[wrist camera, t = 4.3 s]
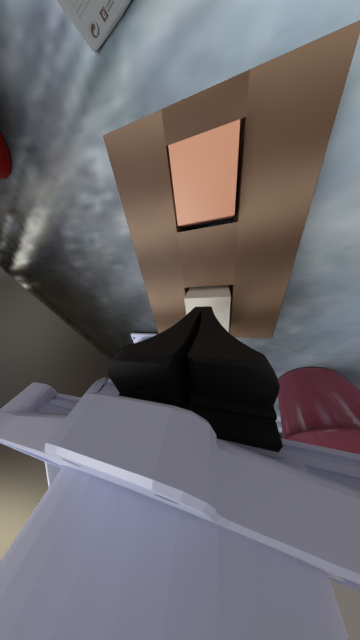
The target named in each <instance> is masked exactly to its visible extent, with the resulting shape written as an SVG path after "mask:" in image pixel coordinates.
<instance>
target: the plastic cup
mask: <svg viewBox="0 0 360 640" xmlns="http://www.w3.org/2000/svg"><path fill="white" fill-rule="evenodd" d="M10 171H11V161H10V156H9V152H8V149H7V146H6V144H5V142H4V139H3V137H2V134H1V133H0V179H1V178H7V177H8V175H9V174H10Z"/></svg>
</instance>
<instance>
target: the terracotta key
mask: <svg viewBox="0 0 360 640" xmlns="http://www.w3.org/2000/svg"><path fill="white" fill-rule="evenodd" d="M239 132H240V119H239V120H236V121H233V122H231V123H228V124H225V125H223V126H220V127H217V128H214V129H212V130H209V131H206V132H203V133H201V134H198V135H195V136H193V137H190V138H187V139H184V140H182V141H179V142H176V143H173V144H171V145H168V148H169V156H170V165H171V173H172V181H173V189H174V198H175V206H176V214H177V222H178V226H182V227H189V226H195V225H200V224H206V223H211V222H216V221H222V220H227V219H231V218H232V217H233V216H234V215H235V200H236V183H237V166H238V149H239Z"/></svg>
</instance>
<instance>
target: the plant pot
mask: <svg viewBox="0 0 360 640" xmlns="http://www.w3.org/2000/svg"><path fill="white" fill-rule="evenodd" d="M278 382H279V384H280V390H279V394H278V399H279V407H280V416H281V425H282V432H283V439H286V440H291V441H296V442H301V443H306V444H311V445H316V446H321V447H326V448H331V449H336V450H341V451H346V452H351V453H356V454H360V390H359V389H358V388H357V387H355V386H354V385H353V384H352V383H350V382H349V381H348V380H347V379H345V378H344V377H343V376H341V375H340V374H339V373H337V372H335V371H333V370H329V369H325V368H318V367H308V368H300V369H296V370H293V371H290V372H288V373H286V374H284V375H283V376H281V377H280V378H279V380H278Z"/></svg>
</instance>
